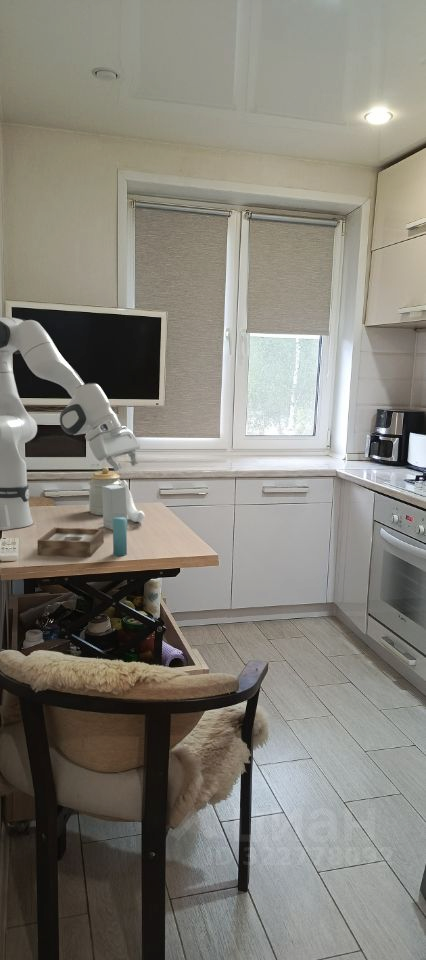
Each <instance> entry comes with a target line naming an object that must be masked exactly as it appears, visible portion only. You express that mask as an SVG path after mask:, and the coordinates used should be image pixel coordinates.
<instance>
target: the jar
mask: <svg viewBox="0 0 426 960" xmlns="http://www.w3.org/2000/svg"><path fill="white" fill-rule="evenodd" d="M101 469H102V470H101V471H97V472H95V473H94V474H91V475H90V479H91V480H90V481H88V485H89V490H88V498H89V501H88V502H89V503H88V509H89V513H90V514H92V515H95V516H103V502H102V486H108V485H119V486H122V484H123V480H121V479H120V478H121V475H119V474H118V473H117V472H116V471H115V472H114V471H109V468H108V467H107V466H106V467H102V468H101Z"/></svg>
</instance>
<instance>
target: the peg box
mask: <svg viewBox="0 0 426 960" xmlns="http://www.w3.org/2000/svg"><path fill="white" fill-rule="evenodd" d="M104 534H105V533H104V528H87V527H86V528H84V527H83V528H80V527H53V528H52V529H51V530H49V531H48V532H47V533H45V534H44V535H43V536H41V537H40V538H38V539H37V556H53V557H54V556H59V557H60V556H61V557H83V558H86V557H87V558H91V557H92V556H93V555H94V554H95V553H96V551H97V550H98V549H99V548H100V547H101V546H102V545H103V544H104V539H105V538H104V536H105V535H104Z"/></svg>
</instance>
